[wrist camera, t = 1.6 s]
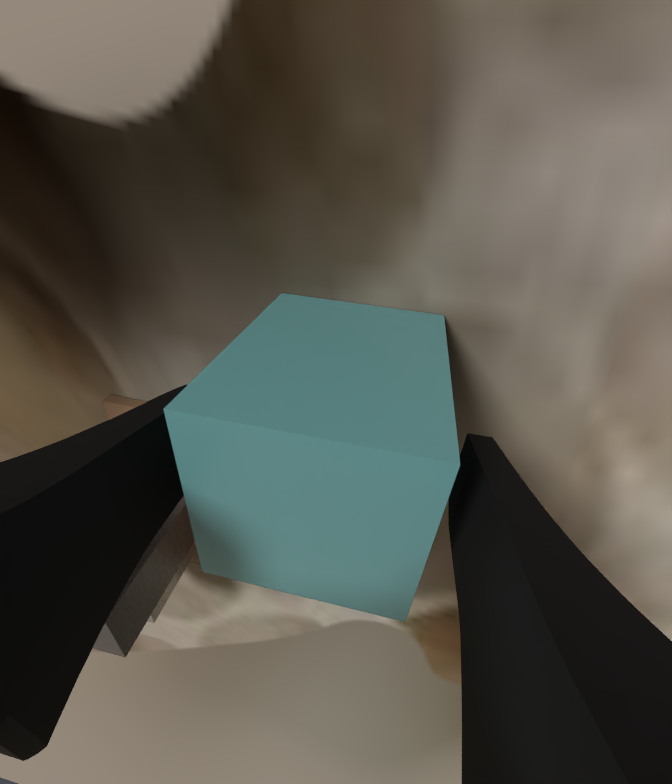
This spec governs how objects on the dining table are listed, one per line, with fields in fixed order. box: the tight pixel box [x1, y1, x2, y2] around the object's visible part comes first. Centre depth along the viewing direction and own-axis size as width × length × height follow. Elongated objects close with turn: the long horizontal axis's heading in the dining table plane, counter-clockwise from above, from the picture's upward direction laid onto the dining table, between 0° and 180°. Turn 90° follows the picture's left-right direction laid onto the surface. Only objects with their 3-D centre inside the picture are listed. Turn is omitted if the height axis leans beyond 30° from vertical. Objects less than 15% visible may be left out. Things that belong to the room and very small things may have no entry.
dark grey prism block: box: [93, 496, 195, 657], centre depth 15 cm, size 3×3×6 cm
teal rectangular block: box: [163, 293, 460, 622], centre depth 10 cm, size 5×5×7 cm
